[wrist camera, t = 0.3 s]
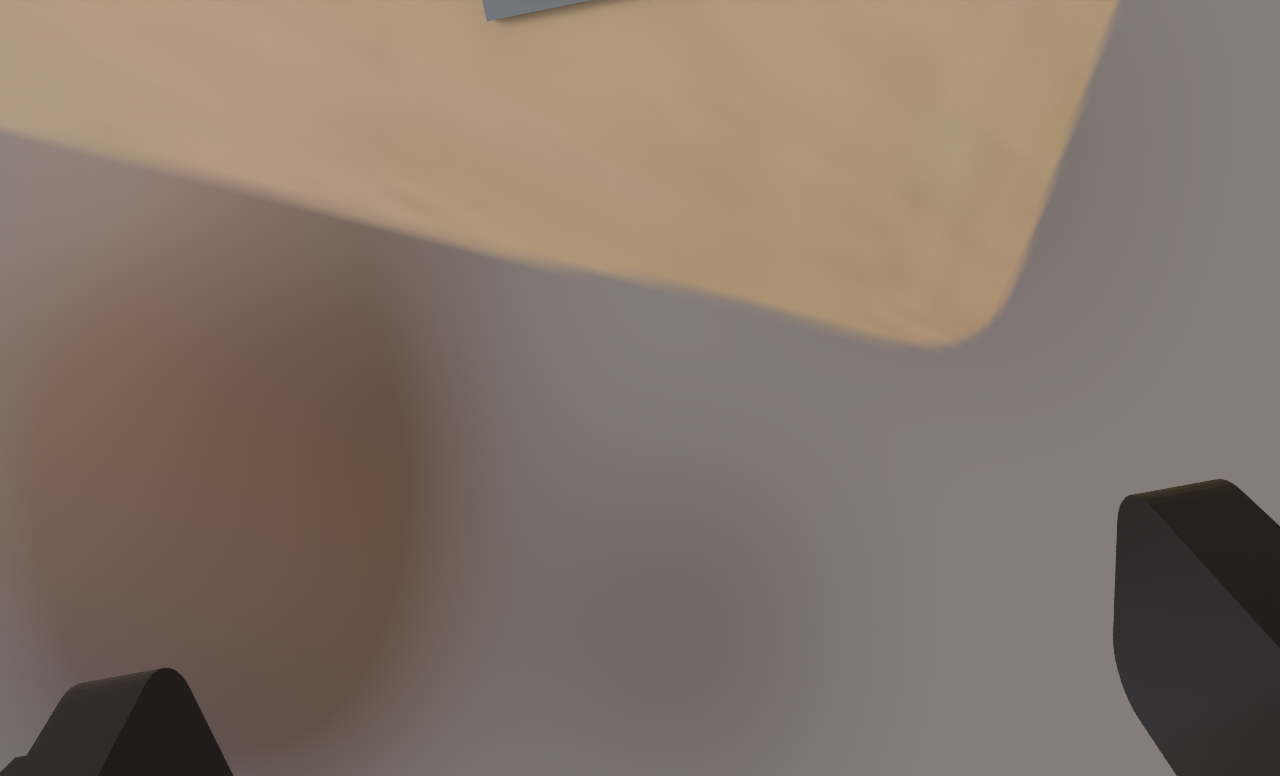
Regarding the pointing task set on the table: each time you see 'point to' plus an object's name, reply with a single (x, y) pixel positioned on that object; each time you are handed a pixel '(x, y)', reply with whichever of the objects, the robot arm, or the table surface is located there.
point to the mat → (520, 7)
